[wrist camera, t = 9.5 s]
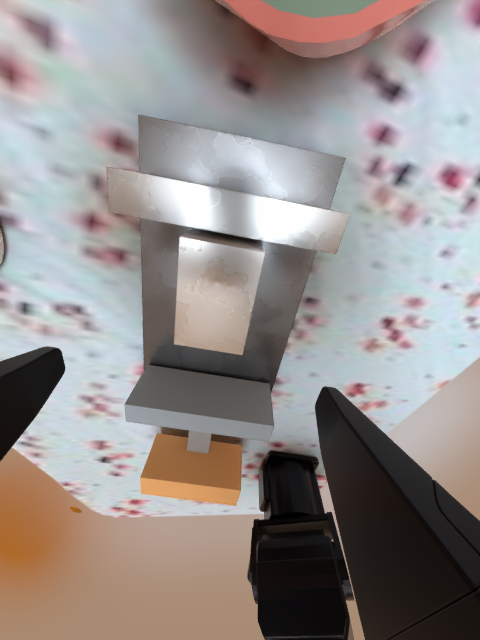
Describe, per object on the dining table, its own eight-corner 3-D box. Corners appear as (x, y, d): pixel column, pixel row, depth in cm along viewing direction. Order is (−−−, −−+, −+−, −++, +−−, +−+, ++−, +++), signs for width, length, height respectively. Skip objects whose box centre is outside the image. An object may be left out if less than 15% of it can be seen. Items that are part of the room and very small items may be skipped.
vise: (341, 159, 16) (387, 143, 11) (263, 410, 27) (266, 463, 22) (143, 118, 15) (87, 79, 10) (147, 393, 26) (121, 443, 21)
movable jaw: (269, 383, 24) (274, 426, 19) (245, 461, 30) (245, 506, 26) (147, 364, 23) (124, 404, 19) (148, 448, 29) (131, 492, 25)
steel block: (259, 230, 17) (265, 252, 11) (244, 305, 20) (242, 355, 14) (204, 220, 17) (179, 236, 11) (197, 297, 20) (174, 344, 14)
